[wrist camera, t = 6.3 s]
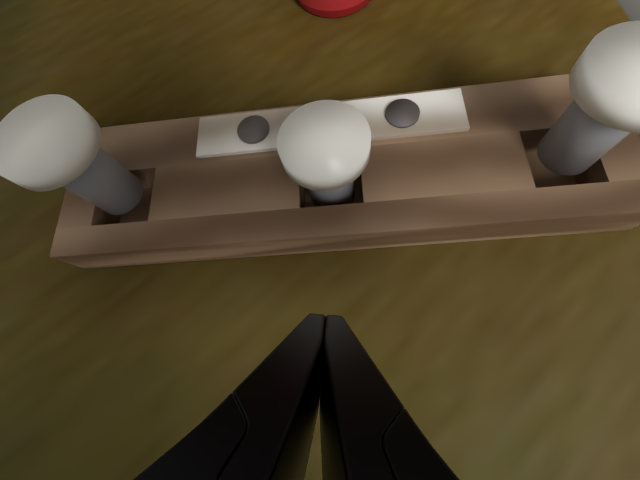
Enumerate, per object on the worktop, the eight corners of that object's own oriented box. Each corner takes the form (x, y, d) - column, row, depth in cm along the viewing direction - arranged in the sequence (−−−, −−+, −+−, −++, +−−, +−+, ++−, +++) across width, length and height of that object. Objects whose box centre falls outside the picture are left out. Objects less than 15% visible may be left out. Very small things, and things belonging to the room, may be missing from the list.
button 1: (624, 186, 19) (747, 106, 13) (530, 194, 19) (607, 120, 13) (595, 114, 21) (692, 13, 15) (510, 123, 21) (570, 28, 15)
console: (629, 229, 21) (678, 205, 18) (84, 268, 25) (42, 254, 21) (581, 102, 24) (615, 63, 21) (108, 152, 28) (75, 125, 25)
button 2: (152, 226, 21) (71, 174, 15) (79, 232, 22) (-26, 184, 16) (161, 159, 23) (92, 89, 17) (94, 166, 24) (4, 100, 18)
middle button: (371, 224, 23) (375, 174, 17) (298, 229, 23) (276, 184, 17) (365, 160, 24) (366, 94, 18) (297, 166, 25) (276, 105, 19)
